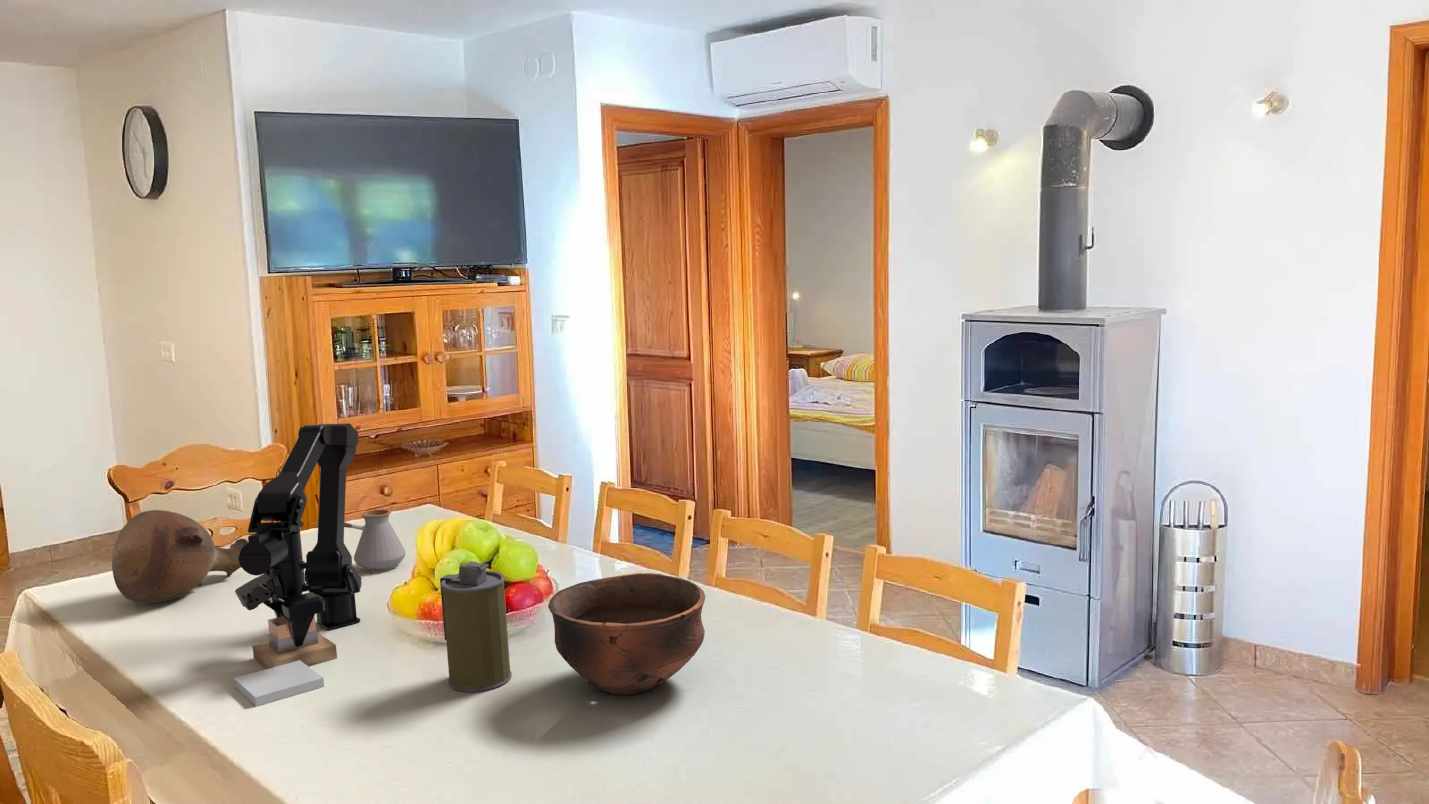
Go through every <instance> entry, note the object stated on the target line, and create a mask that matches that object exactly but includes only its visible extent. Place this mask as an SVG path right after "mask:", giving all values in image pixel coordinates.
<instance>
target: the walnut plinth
mask: <svg viewBox="0 0 1429 804" xmlns="http://www.w3.org/2000/svg"><path fill="white" fill-rule="evenodd" d="M251 646H252V654H253V655H252V656H253V660H255V662H257V663H258V664H260V665H261V666H262V667H263V668H264V669H265V670H266V669H270V668H273V667H277V666H281V665H284V664H288V663H291V662H295V661H299V660H300V661H302V662H303V663H304V664H306V665H307V666H308V667H310V666H313V665H317V664H318V665H319V664H321V663H324V662H329V661H331V660H335V659H338V653H337V644H335V643H334V642H333V641H331V640H330V639H328V638H327V637H325V636H324V635H322V634H320V633H319V632H318V644H315V645H311V646H307V647H304V648H300V649H296V650H292V651H289V652H285V653H281V654H278V653H277V652H275V651H274V650H273V649H272V648H270V647H269V640H268V641H265V642H260V643H256V644H253V645H251Z"/></svg>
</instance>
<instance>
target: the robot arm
mask: <svg viewBox="0 0 1429 804" xmlns="http://www.w3.org/2000/svg"><path fill="white" fill-rule="evenodd" d="M297 436H298V437H297V440H296V441H295V443H294V445H293V447H292V449H291V451H290V453H289V454H288V456H287V458H286V460H285V463H284V464H283V466H282V469H281V470H280V472H279V474H278V475H277V476H276V477H275V478H272V479H270V481H268V482H266V483H265V484H264V486H263V487H262V488H261V489H260V491H259V492H258V494H257V495H256V498H255V499H254V503H253V508H252V511H251V516H250V521H249V524H248V528H247V533H249V534H250V533H251V534H250V535H248V536H247V541H248V542H249V543H248V544H246V545H245V546H244V547H243V548H242V549H241V551H240V554H239V563H240V565H241V568H242V570H243V571H244V572H245V573H247V574H249V575H251V576H257V577H255V578H253V579H251V580H249V581H247V582H246V583H244V584H243V585H241V586H239V587H238V588H236V589H235V590H234V593H235V594H236V596H237V598H238V600H239V602H240V604H241V605H242V607H244V608H246V610H248V611H252V610H255V609H257V608H258V607H259V605H261V604H263V605H265V607H267V608H269V609H271V610H273V612H274V614H275V618H277V617H281V616H282V617H284V618H285V619H287V620H288V621H289V625H290V628H291V632H292V636H293V639H294V643H295V646H296V647H299V646H302V645H303V642H304V640H305V637H306V635H307V632H308V629H309V627H310V624H311V622H312V620H313V618H314V617H315V615H316V623H317V624H318V625H320V626H322V627H323V628H325V629H326V630H333V629H337V628H341V627H344V626H348V625H352V624H356V623H359V622H361V618H360V617H358V616H357V604H356V594H358V593H361V589H362V585H363V584H362V583H363V582H362V576H361V575H360V574H359V572H358V571H357V569H355V567H354V566H353V556H352V555H351V553H350V551H349V550H348V547H347V546H346V544H345V527H344V522H345V516H346V515H345V513H346V492H347V491H346V489H347V488H346V486H347V485H346V484H347V469H348V468H349V466H350V464H351V463H352V461H353V460H354V458H355V457H356V453H357V446H358V444H359V438H360V437H359V431H358V430H357V429H356V428H354V426H353V425H352V423H318V424H305V425H303V426H300V427H299V430H298V435H297ZM316 465H318V466H319V468H320V469H319V470H320V471H319V473H320V474H319V494H318V496H319V497H318V518H317V520H318V521H317V527H318V528H317V541H316V542H317V543H316V544H315V546H314V547H313V549H312V550H310V551H307V553H306V555H305V560H306V561H305V560H304V559H303V550H302V539H301V530H300V529H301V528H303V527H304V525H305V524H304V521H302V517H303V514H304V512H305V508H306V504H307V500H308V499H307V496H306V494H305V489H306V486H307V484H308V482H309V480H310V478H311V475H312V474H313V472H314V470H315V467H316ZM262 521H263V522H262ZM305 592H306V593H305Z"/></svg>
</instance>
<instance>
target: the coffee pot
mask: <svg viewBox="0 0 1429 804" xmlns="http://www.w3.org/2000/svg"><path fill="white" fill-rule="evenodd" d="M391 514H392V512H391V510H389V509H372V510H367V511H364V512H362V513H361V517H362V518H363V519H364V521H365V522H364V525H356V524H352V523H349V522H346V521H344V528H348V529H350V528H351V529H355V530H359V531H360V530H361V531H362V532H361V535H360V538H359V541H358V544H357V547H356V550H355V552H354V556H353V560H354V562H355V564H356V565H357V566H359V567H360V568H362V570H363V571H365V572H370V573H377V572H385V571H389V570H393V569H395V568H397V567H398V566H399V564H401V563H402V561H403V560H404V559H405V556H406V554H407V553H406V550H405V549H406V548H405V547H404V545H403V544H402V542H401V541H400V538H399V536H398V535H397V533H396V531H395V529H394V527H393V526H392V524H391V522H390V521H389V519H390V515H391ZM317 523H318V519H317V520H316V521H315V523H314V527H315V528H317V529H318V525H317Z"/></svg>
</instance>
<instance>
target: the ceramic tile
mask: <svg viewBox="0 0 1429 804" xmlns="http://www.w3.org/2000/svg"><path fill="white" fill-rule="evenodd" d="M233 682H234V688H235V689H237V690H238V691H239V692H240V693H241V694H242V695H243V696H245V698H247V700H248V701H250V702H251V703H252V704H254V706H255V707H259V706H262V705H266V704H268V703H269V704H270V703H272V702H276V701H279V700H282V699H286V698H289V697H293V696H296V695H299V694H303V693H307V692H309V691H313V690H316V689H320V688H324V687H325V681H324V677H323V676H322V675H321V674H319V673H318V672H316V671H315V670H313V668H311V667H310V666H307V665H306V664H304V663H303V662H302V661H300V660H299V661H295V662H291V663H288V664H284V665H281V666H277V667H273V668H270V669H266V668H265V669H263V670H260V671H256V672H251V673H249V674H245V675H240V676H238V677H234V678H233Z"/></svg>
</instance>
